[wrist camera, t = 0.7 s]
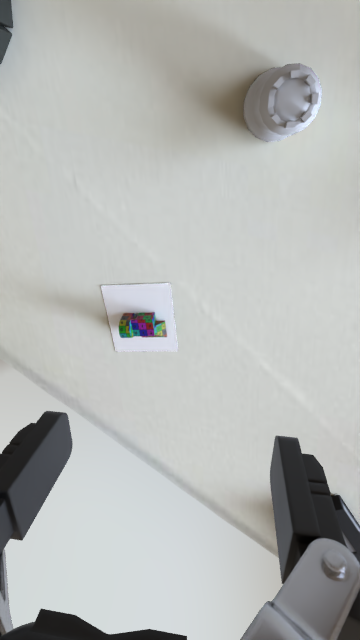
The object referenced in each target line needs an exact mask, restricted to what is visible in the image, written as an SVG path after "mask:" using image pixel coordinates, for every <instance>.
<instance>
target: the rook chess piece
mask: <svg viewBox="0 0 360 640" xmlns="http://www.w3.org/2000/svg"><path fill="white" fill-rule="evenodd" d="M321 97H322V89H321V84H320V80H319V78H318V76H317V75H316V74H315V72H314V71H313V70H312V69H311V68H309V67H307V66H305V65H302V64H300V63H298V64H287V65H285V66H283V67H277V68H271V69H269V70H268V71H266V72H264V73H262V74H261V75H259V76H258V77H257V78H256V80H255V81H254V82H253V83H252V84H251V86H250V87H249V89H248V92H247V95H246V97H245V100H244V119H245V122H246V124H247V127H248V129H249V130H250V131H251V132H252V133H253V135H254V136H255V137H257V138H259V139H261V140H264V141H266V142H269V141H280V140H282V139H284V138H286V137H288V136H290V135H293V134H295V133H297V132H299V131H301V130H303V129H305V128H306V127H307V126H308V125H309V124H310V123H311V122H312V121H313V120H314V118H315V116H316V114H317V112H318V110H319V108H320V105H321Z"/></svg>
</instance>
